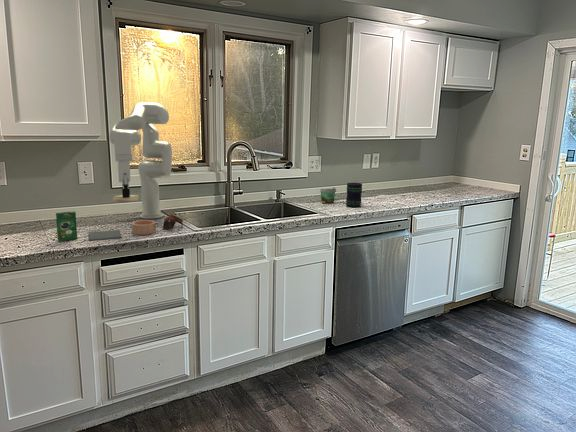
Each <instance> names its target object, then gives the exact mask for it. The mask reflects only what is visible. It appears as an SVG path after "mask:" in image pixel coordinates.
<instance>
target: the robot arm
mask: <svg viewBox="0 0 576 432" xmlns="http://www.w3.org/2000/svg"><path fill="white" fill-rule="evenodd" d="M169 120H170V115H169V111H168V109H166V107H165V106H163V105H162V104H161V103H158V102H138V103H136V104H135V105H134V107H133V109H132V110H131V112H130V114H129V116H127V117H125V118H122V119H121V120H119V121H117V122H115V124H113V126H112V128H111V130H110V132H109V137H108V138H109V141H110V143H111V144H112V145H113V147H114V160H115V162H117V174H118V177H117V178H118V182H119V183H120V184H121V185H122V187H121V192H122V193H123V197H130V195H131V193H130V192H131V190H130V186H129V184H130V182H131V163H130V162H133V151H132V147H133V146H138V145H140V144H141V141H142V147H141V148H142V151H141V152H142V156H143V157H144V158H146V159H148V160H142V161H141V162H139V164H138V165H137V167H138V168H137V169H138V170H137V171H138V174H139V179H140V189H141V209H142V213H139V217H140V218H141V219H144V220H152V219H159V218H162V217H163V216H164V214H163V213H162V212H161V207H160V206H161V205H160V186H159V183H158V181H157V180H156V179H168V178H169V177H170V176H171V174H172V159H173V149H172V145H171V143H170V142H168V141H162V140H160V141H159V139H160V138H159V137H160V132H159V130H158V129H157V128H156V127H155V125H166V124H167V123H168V122H169ZM140 130H141V131H142V135H141V133H140V132H139V131H140ZM149 159H153V160H149ZM154 159H155V160H154ZM156 159H161V160H156ZM122 193H121V194H122Z"/></svg>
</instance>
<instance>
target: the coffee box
mask: <svg viewBox="0 0 576 432" xmlns="http://www.w3.org/2000/svg"><path fill="white" fill-rule="evenodd" d="M55 216H56V217H55V218H56V219H55V220H56V221H55V222H56V233H57V241H58V242H59V243H60V242H66V241H73V240H77V239H78V231H77V230H78V229H77V227H78V226H77V214H76V211H74V210H70V211H63V212H55Z"/></svg>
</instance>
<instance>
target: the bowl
mask: <svg viewBox="0 0 576 432" xmlns="http://www.w3.org/2000/svg"><path fill="white" fill-rule="evenodd" d="M131 232H132V234H134V235H137V236H149V235H153V234H154V233H155V232H157V223H156V220H152V219H139V220H134V221H132V222H131Z"/></svg>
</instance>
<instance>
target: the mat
mask: <svg viewBox="0 0 576 432" xmlns="http://www.w3.org/2000/svg"><path fill="white" fill-rule="evenodd" d="M122 238H123V237H122V234H121V231H120V229H114V230H113V229H112V230H101V231H100V230H99V231H89V232H88V239H89V242H90V241H91V242H92V241H101V240H103V241H105V240H113V239H114V240H115V239H122Z"/></svg>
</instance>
